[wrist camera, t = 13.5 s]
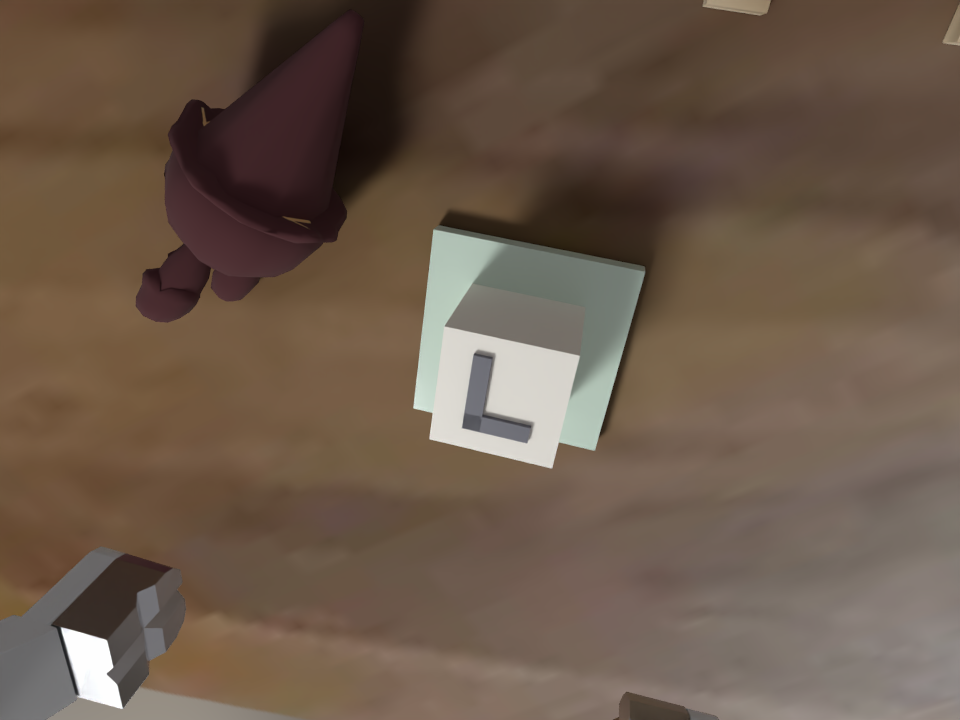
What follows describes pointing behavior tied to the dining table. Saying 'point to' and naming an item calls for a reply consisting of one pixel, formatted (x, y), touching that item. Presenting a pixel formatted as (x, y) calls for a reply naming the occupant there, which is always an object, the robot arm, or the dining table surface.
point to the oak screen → (758, 3)
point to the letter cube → (507, 374)
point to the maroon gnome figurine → (256, 177)
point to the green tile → (544, 275)
